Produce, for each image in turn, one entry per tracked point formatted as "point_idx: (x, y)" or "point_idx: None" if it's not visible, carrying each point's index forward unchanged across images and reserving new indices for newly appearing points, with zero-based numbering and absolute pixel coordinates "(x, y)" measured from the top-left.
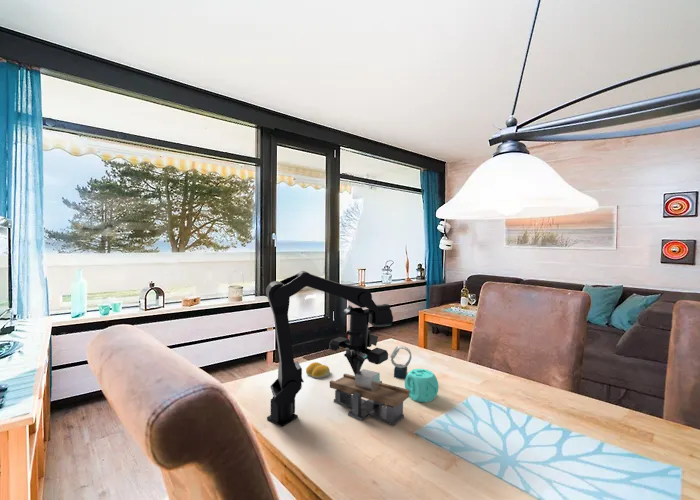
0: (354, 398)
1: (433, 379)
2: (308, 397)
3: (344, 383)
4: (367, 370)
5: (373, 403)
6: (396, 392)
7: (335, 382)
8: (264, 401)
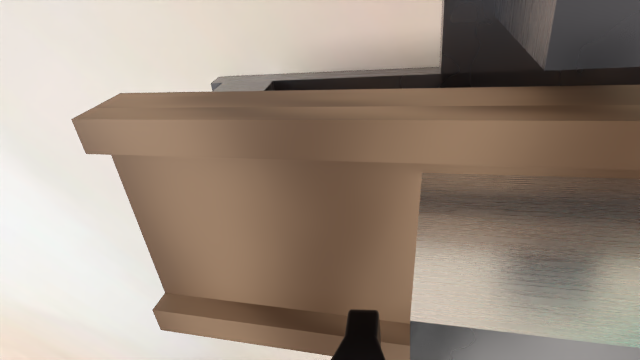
0: None
1: None
2: (114, 243)
3: (254, 263)
4: (535, 349)
5: (527, 77)
6: None
7: (214, 331)
8: (58, 354)
